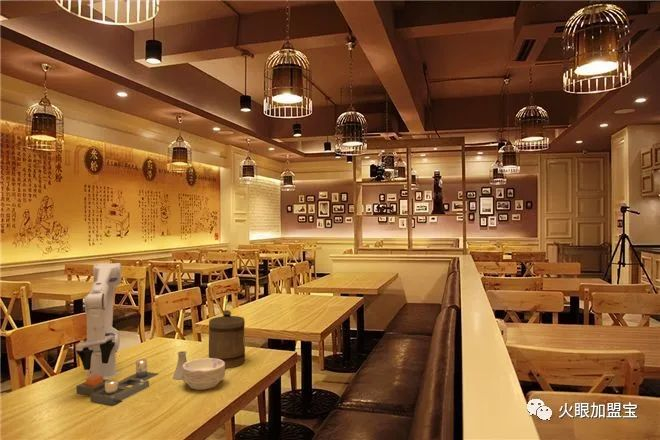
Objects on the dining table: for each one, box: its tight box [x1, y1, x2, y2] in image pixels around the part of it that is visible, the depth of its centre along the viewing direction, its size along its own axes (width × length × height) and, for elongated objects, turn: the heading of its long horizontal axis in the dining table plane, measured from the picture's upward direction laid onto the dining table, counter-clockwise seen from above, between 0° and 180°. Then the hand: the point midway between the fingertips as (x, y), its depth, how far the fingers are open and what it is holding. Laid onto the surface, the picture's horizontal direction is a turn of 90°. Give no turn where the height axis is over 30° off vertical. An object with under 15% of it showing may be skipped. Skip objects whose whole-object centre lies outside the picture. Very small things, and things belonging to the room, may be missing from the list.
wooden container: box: [208, 309, 246, 369], centre depth 189 cm, size 15×15×22 cm
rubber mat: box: [123, 371, 159, 381], centre depth 173 cm, size 9×9×1 cm
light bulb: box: [105, 379, 119, 396], centre depth 153 cm, size 4×4×6 cm
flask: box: [172, 350, 188, 381], centre depth 172 cm, size 7×7×10 cm
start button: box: [85, 375, 104, 386], centre depth 160 cm, size 4×4×3 cm
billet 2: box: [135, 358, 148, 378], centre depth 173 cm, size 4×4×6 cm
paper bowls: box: [181, 357, 226, 391], centre depth 165 cm, size 15×15×8 cm
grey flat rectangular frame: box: [90, 377, 150, 407], centre depth 157 cm, size 10×16×2 cm, turn 159°
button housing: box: [75, 378, 109, 398], centre depth 160 cm, size 8×8×3 cm
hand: (96, 366), depth 159 cm, fingers open, 7 cm apart
